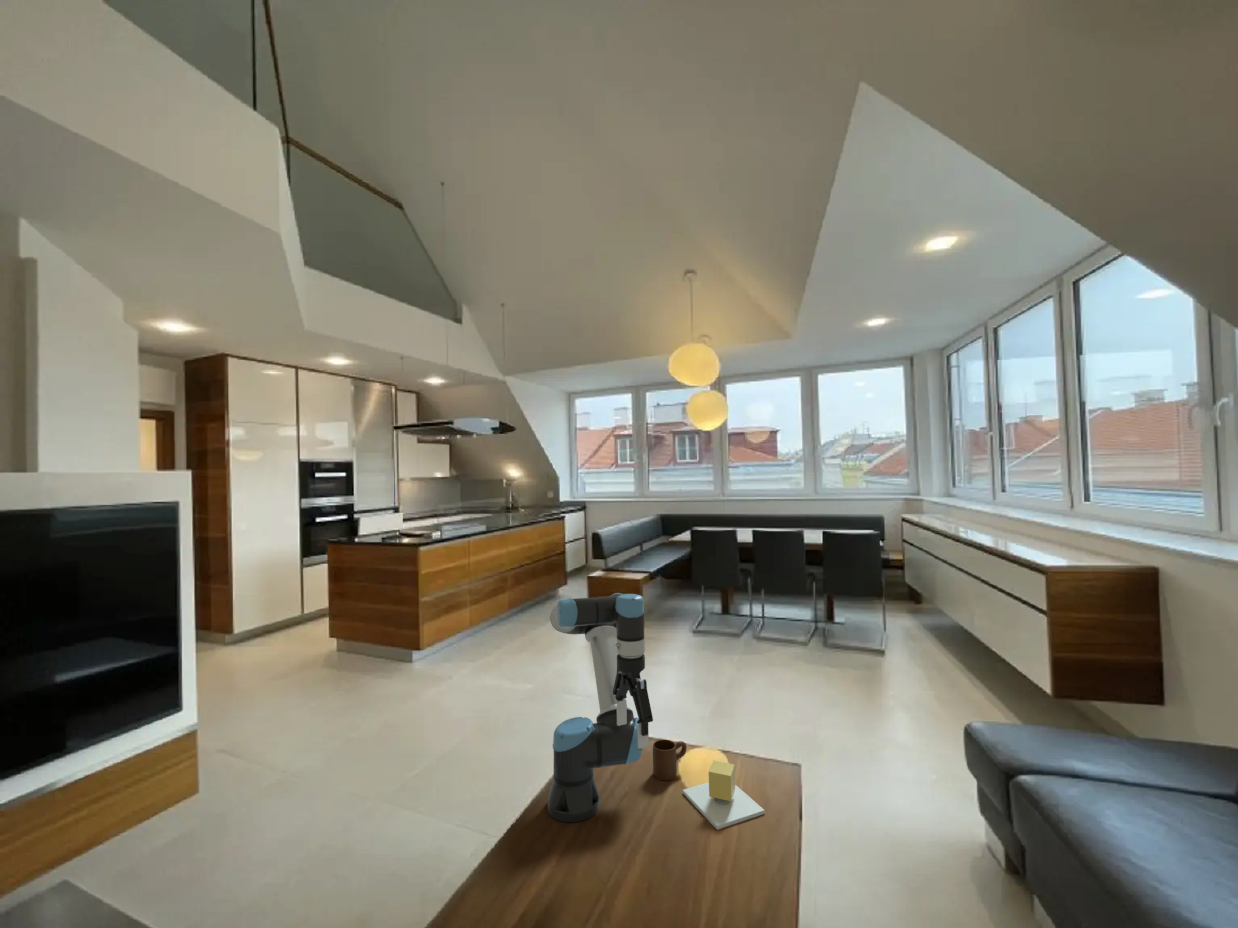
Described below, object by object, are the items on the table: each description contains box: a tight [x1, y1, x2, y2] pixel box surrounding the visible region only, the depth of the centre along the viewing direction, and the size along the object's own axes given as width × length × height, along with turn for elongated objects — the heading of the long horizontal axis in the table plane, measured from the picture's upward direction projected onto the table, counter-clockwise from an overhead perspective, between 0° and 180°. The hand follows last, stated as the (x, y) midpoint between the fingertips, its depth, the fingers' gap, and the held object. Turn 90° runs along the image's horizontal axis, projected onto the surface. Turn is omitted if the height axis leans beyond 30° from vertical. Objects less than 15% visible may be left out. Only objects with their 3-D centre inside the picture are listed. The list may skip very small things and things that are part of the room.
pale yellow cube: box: [708, 760, 736, 801], centre depth 147 cm, size 6×6×7 cm
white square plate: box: [682, 781, 765, 830], centre depth 147 cm, size 18×16×9 cm
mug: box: [652, 739, 688, 781], centre depth 163 cm, size 12×8×9 cm, turn 114°
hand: (632, 735), depth 133 cm, fingers open, 13 cm apart
